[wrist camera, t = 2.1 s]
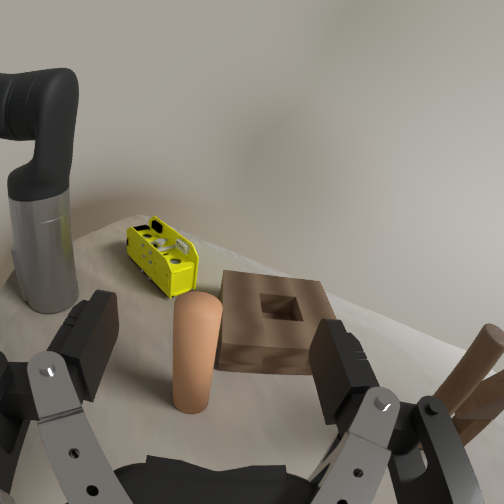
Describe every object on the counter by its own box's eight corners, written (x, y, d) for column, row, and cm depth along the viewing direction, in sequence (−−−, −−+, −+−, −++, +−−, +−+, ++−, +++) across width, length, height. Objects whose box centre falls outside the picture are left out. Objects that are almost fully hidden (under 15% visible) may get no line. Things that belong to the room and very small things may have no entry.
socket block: (217, 370, 35) (222, 342, 33) (219, 295, 50) (223, 269, 47) (335, 374, 38) (349, 349, 35) (311, 304, 52) (319, 281, 50)
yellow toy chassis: (197, 292, 49) (202, 248, 46) (168, 303, 45) (170, 256, 42) (150, 250, 58) (152, 211, 55) (125, 257, 54) (125, 216, 51)
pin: (171, 411, 29) (170, 318, 22) (174, 384, 32) (177, 288, 26) (207, 415, 29) (222, 324, 23) (208, 388, 33) (223, 294, 26)
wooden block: (460, 450, 25) (549, 355, 17) (397, 449, 27) (491, 342, 19) (456, 430, 29) (536, 334, 21) (396, 426, 30) (478, 318, 22)
